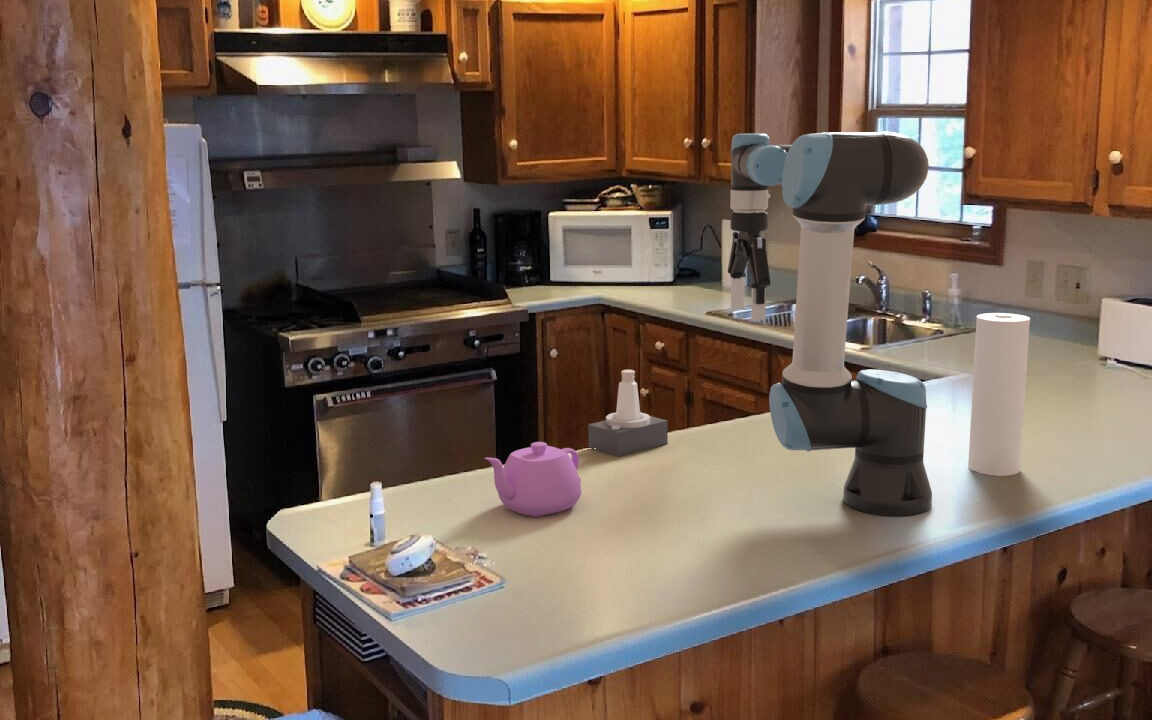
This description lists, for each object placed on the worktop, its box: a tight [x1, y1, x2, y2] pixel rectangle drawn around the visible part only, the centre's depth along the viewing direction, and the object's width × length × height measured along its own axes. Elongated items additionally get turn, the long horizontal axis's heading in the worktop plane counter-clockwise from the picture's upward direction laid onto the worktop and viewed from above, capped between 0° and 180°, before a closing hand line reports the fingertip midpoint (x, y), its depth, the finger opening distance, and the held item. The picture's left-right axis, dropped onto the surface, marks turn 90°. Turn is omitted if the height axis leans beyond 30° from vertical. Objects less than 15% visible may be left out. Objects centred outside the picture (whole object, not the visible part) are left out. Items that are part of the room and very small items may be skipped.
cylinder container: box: [967, 312, 1031, 477], centre depth 226 cm, size 9×9×30 cm
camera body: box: [587, 411, 669, 458], centre depth 247 cm, size 14×9×6 cm, turn 130°
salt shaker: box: [615, 369, 641, 421], centre depth 245 cm, size 5×5×11 cm
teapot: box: [484, 441, 582, 518], centre depth 208 cm, size 20×13×12 cm, turn 128°
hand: (747, 314), depth 246 cm, fingers open, 13 cm apart
